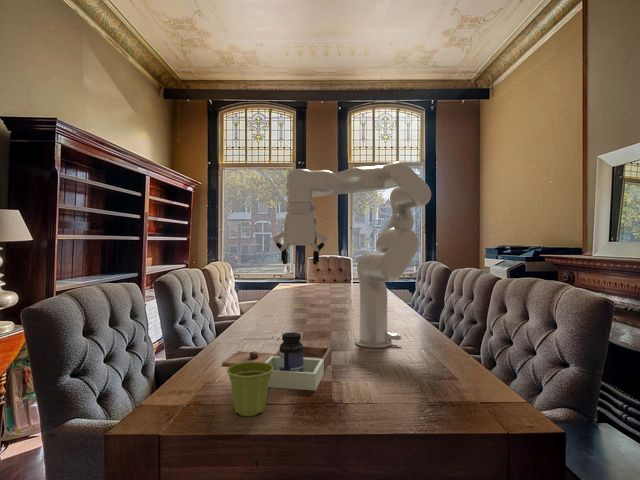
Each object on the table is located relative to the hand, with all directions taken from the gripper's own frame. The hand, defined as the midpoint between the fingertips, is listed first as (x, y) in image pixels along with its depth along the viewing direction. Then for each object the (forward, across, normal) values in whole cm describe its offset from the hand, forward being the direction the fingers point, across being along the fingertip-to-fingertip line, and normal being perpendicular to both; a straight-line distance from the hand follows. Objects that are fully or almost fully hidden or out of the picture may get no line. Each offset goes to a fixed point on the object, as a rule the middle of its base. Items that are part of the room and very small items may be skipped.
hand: (300, 264), depth 117 cm
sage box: (+28, -3, +21) cm, 36 cm away
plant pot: (+28, +1, +40) cm, 49 cm away
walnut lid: (+28, +12, +8) cm, 32 cm away
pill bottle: (+28, -3, +21) cm, 35 cm away
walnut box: (+28, -3, +8) cm, 30 cm away
